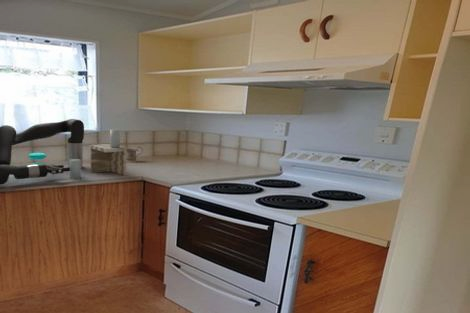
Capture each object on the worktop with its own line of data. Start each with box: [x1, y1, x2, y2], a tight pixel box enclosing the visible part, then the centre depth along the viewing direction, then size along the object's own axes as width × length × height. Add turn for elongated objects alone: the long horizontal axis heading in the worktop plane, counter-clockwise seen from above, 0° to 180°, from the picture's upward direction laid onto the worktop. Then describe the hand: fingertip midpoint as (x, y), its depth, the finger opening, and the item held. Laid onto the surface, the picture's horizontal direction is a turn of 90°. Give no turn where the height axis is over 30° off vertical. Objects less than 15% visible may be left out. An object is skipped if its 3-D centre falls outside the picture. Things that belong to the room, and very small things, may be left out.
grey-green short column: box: [69, 159, 82, 180], centre depth 200 cm, size 6×6×11 cm
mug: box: [126, 146, 144, 164], centre depth 264 cm, size 14×10×12 cm
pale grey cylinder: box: [109, 129, 121, 148], centre depth 211 cm, size 6×6×11 cm
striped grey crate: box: [89, 143, 127, 176], centre depth 215 cm, size 20×14×18 cm
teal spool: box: [28, 152, 47, 165], centre depth 218 cm, size 10×10×10 cm
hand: (66, 168), depth 196 cm, fingers open, 8 cm apart
